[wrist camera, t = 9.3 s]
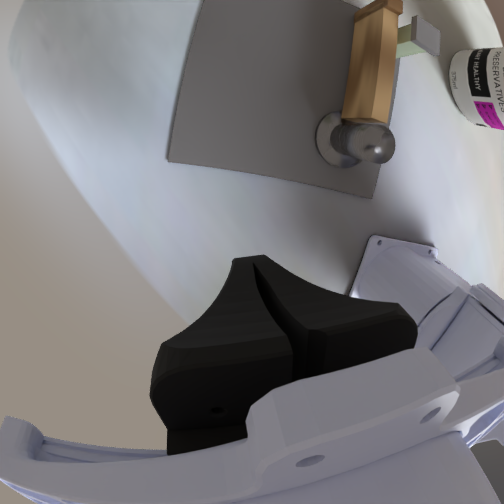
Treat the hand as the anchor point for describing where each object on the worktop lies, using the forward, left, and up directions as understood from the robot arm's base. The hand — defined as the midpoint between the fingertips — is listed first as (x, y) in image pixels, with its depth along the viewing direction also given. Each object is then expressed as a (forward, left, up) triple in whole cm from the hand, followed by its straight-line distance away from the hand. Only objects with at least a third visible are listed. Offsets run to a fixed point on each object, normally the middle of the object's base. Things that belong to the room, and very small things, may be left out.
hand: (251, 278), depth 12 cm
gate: (-7, -13, -9) cm, 18 cm away
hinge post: (-7, -7, -10) cm, 14 cm away
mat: (-3, -11, -10) cm, 15 cm away
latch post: (-9, -16, -10) cm, 21 cm away
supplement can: (-21, -18, -10) cm, 29 cm away
